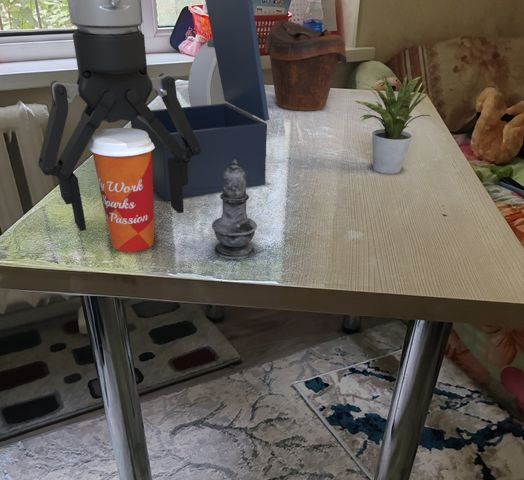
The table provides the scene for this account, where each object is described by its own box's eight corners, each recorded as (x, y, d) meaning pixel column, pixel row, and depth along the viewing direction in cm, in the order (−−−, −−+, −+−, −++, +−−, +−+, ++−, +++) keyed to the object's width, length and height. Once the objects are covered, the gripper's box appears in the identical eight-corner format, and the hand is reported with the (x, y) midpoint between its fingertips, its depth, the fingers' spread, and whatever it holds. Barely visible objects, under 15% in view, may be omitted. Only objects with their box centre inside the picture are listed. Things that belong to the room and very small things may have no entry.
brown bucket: (339, 116, 131) (349, 31, 121) (257, 110, 133) (260, 26, 123) (342, 100, 146) (351, 22, 135) (268, 95, 148) (271, 18, 137)
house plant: (366, 150, 110) (379, 60, 101) (433, 163, 105) (454, 69, 95) (336, 169, 101) (347, 71, 91) (408, 185, 95) (428, 82, 85)
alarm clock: (227, 121, 125) (226, 29, 114) (264, 129, 120) (267, 34, 109) (180, 136, 114) (174, 36, 103) (218, 146, 109) (217, 43, 98)
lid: (244, -18, 74) (283, -29, 76) (200, -24, 84) (235, -34, 86) (265, 121, 87) (298, 109, 88) (224, 101, 97) (254, 90, 99)
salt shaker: (218, 238, 75) (216, 150, 68) (260, 243, 75) (262, 154, 68) (207, 257, 71) (204, 164, 64) (252, 262, 70) (254, 169, 63)
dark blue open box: (166, 200, 86) (161, 135, 80) (135, 171, 96) (129, 112, 90) (265, 184, 93) (267, 123, 87) (227, 159, 103) (226, 102, 97)
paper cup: (92, 250, 71) (74, 139, 63) (121, 227, 77) (108, 123, 69) (146, 259, 70) (135, 147, 61) (172, 235, 76) (164, 130, 67)
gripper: (-10, 37, 51) (39, 247, 64) (225, 29, 61) (227, 212, 74) (-20, 27, 56) (27, 223, 69) (198, 21, 66) (204, 193, 79)
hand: (130, 217), depth 71 cm, fingers open, 12 cm apart
